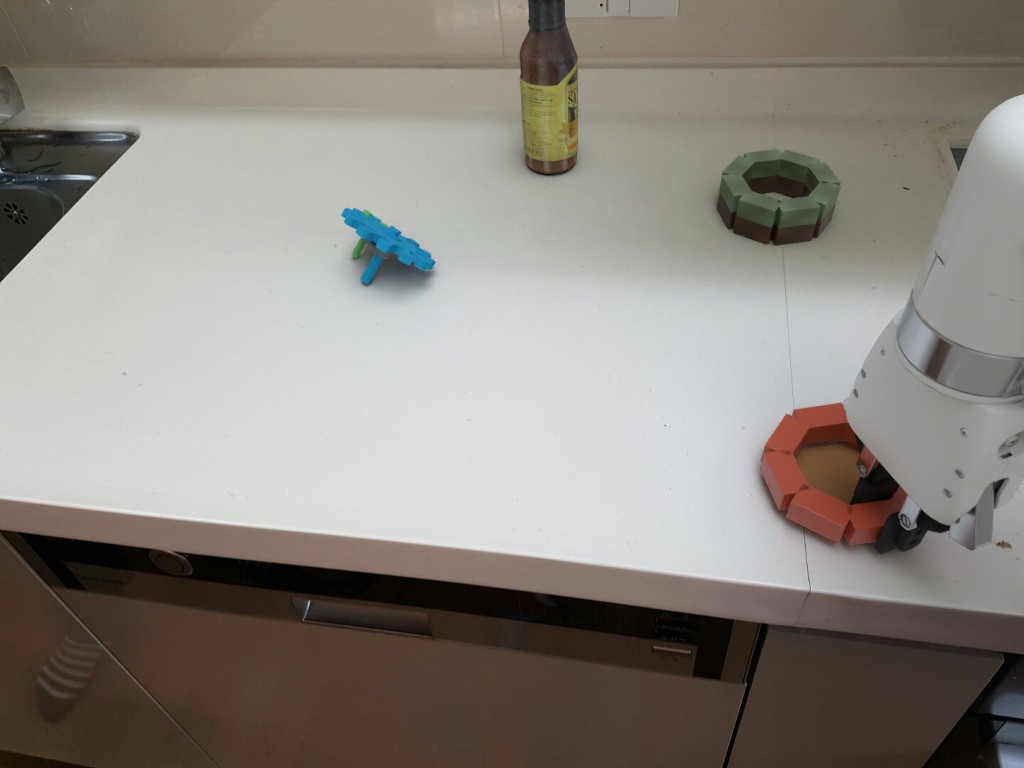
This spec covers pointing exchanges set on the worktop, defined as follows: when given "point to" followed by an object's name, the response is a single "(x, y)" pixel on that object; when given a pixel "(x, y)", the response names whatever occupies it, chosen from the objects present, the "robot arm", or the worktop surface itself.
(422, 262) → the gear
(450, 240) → the worktop surface
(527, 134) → the sauce bottle
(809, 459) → the cork mat
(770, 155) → the ring stack
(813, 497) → the terracotta ring
